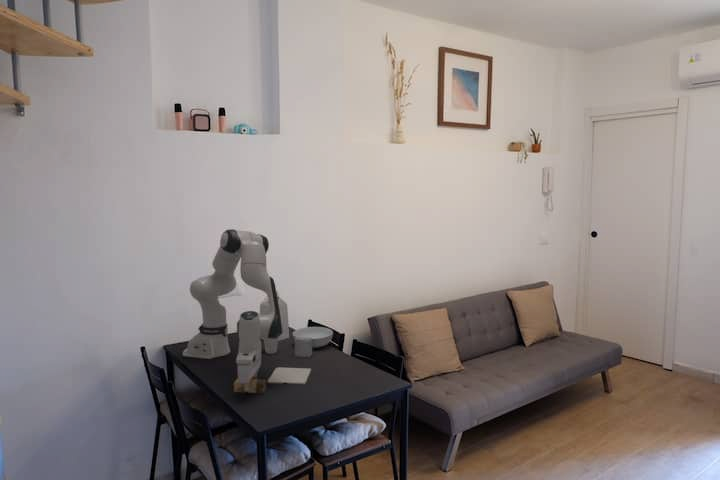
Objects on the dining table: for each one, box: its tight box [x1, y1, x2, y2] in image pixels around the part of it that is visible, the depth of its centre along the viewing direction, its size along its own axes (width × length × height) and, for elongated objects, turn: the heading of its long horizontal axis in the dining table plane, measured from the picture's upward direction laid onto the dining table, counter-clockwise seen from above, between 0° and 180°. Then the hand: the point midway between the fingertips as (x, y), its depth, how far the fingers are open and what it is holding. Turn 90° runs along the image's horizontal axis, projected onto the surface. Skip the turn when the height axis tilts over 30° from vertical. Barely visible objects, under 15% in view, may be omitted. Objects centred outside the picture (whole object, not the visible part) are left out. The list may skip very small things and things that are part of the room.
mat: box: [266, 367, 312, 385], centre depth 214 cm, size 16×16×1 cm
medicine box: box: [293, 337, 313, 358], centre depth 239 cm, size 8×4×9 cm, turn 84°
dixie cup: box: [263, 337, 279, 354], centre depth 244 cm, size 8×8×10 cm
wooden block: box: [233, 378, 267, 394], centre depth 199 cm, size 12×4×4 cm, turn 86°
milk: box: [259, 290, 290, 342], centre depth 265 cm, size 12×12×26 cm
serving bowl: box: [292, 326, 334, 349], centre depth 255 cm, size 21×21×7 cm
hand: (250, 385), depth 199 cm, fingers open, 8 cm apart
